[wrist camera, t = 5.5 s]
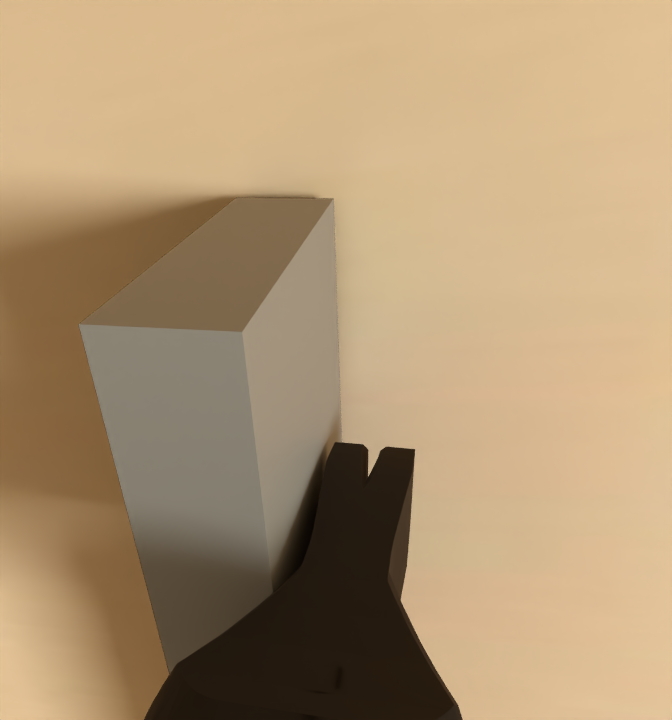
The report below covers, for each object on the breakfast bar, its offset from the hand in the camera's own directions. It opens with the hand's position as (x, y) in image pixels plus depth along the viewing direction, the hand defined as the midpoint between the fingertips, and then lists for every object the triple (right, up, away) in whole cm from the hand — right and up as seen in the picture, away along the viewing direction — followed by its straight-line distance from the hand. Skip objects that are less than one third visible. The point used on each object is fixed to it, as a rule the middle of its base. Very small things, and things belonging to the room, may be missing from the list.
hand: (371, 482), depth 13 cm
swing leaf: (-2, 0, +2) cm, 3 cm away
